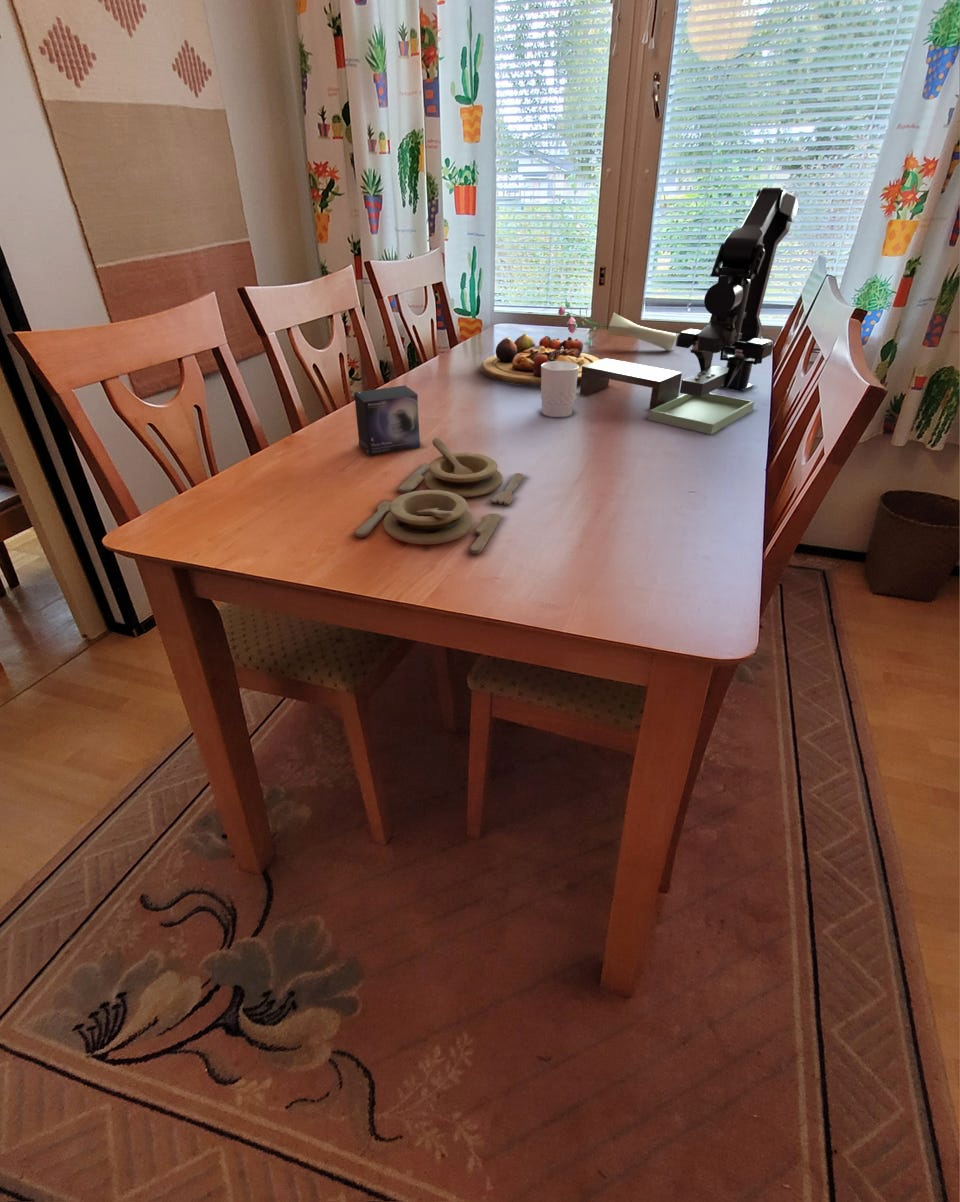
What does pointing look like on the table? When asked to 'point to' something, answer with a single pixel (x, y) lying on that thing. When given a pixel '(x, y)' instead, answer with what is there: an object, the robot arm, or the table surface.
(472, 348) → the table surface
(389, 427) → the small box
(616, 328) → the flower vase
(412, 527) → the tableware set
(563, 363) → the white cup
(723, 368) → the dark gray box
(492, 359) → the wooden plate
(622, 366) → the shelf
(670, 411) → the tray
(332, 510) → the table surface
